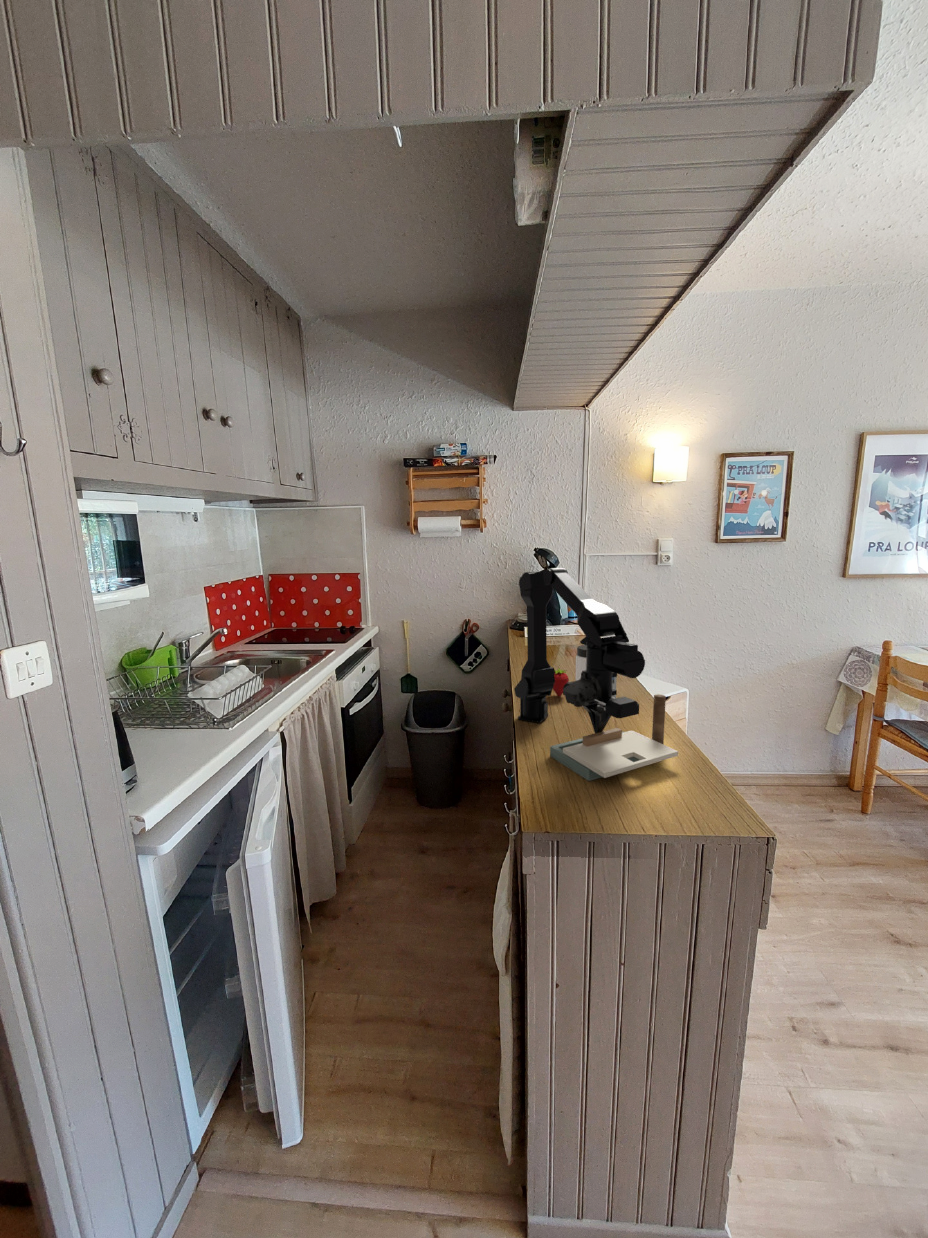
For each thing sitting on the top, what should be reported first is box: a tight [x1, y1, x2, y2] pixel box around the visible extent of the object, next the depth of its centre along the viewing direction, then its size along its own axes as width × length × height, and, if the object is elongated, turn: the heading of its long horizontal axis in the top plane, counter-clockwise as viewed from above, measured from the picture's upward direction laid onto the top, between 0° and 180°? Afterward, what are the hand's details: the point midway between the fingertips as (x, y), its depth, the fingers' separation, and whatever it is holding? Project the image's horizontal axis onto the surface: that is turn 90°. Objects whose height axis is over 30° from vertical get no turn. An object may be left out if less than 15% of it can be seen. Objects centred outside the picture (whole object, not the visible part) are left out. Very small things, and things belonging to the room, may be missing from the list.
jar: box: [575, 644, 587, 681], centre depth 165 cm, size 9×8×12 cm
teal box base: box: [549, 730, 639, 782], centre depth 111 cm, size 13×20×2 cm, turn 117°
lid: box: [563, 727, 679, 779], centre depth 106 cm, size 13×20×3 cm, turn 116°
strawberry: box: [552, 668, 570, 697], centre depth 152 cm, size 6×8×10 cm
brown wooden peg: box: [651, 693, 667, 745], centre depth 114 cm, size 2×2×12 cm
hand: (598, 734), depth 112 cm, fingers closed
